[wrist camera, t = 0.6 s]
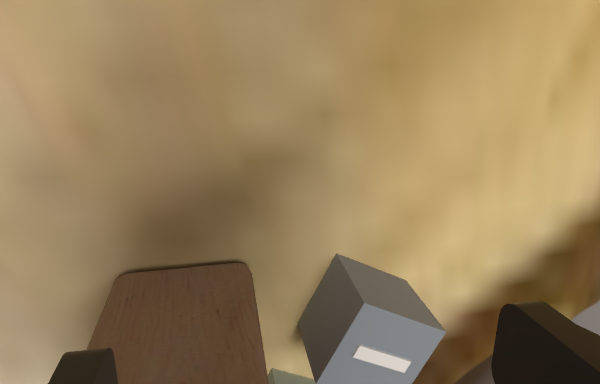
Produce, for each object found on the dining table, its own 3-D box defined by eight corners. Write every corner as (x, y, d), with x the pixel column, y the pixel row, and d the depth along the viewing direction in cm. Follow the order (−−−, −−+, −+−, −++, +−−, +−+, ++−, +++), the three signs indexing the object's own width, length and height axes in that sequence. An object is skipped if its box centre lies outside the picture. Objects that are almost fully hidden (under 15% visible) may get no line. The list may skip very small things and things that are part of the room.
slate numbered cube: (336, 253, 34) (365, 304, 28) (407, 280, 37) (449, 334, 30) (296, 323, 36) (315, 388, 29) (366, 346, 38) (398, 410, 32)
